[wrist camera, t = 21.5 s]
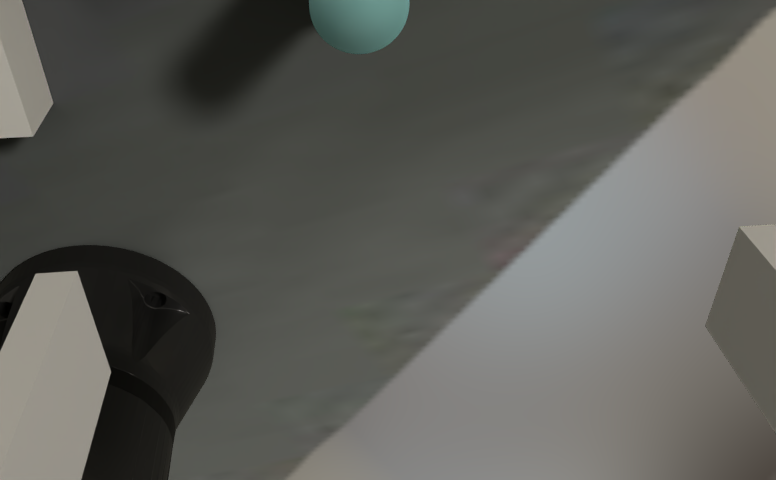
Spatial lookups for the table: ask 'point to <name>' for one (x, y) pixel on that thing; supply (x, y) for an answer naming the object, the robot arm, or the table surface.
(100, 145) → the table surface
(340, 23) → the plug
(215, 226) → the table surface
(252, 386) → the table surface
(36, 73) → the grey block with rod
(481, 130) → the table surface
